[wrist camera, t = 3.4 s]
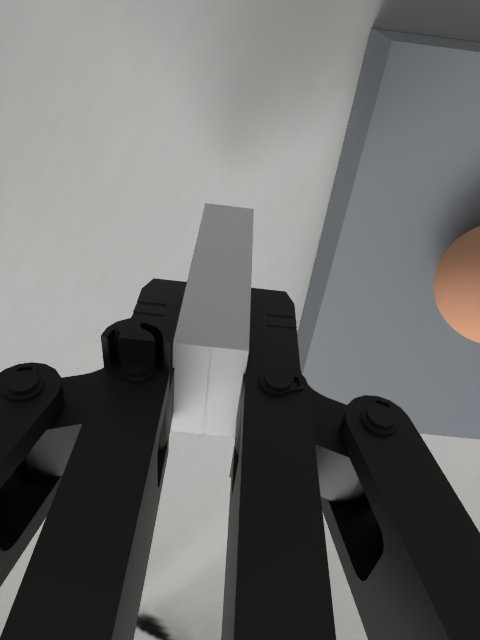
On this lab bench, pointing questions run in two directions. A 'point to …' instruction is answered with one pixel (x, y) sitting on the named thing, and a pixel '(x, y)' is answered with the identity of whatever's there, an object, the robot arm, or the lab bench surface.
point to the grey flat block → (400, 237)
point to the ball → (460, 285)
